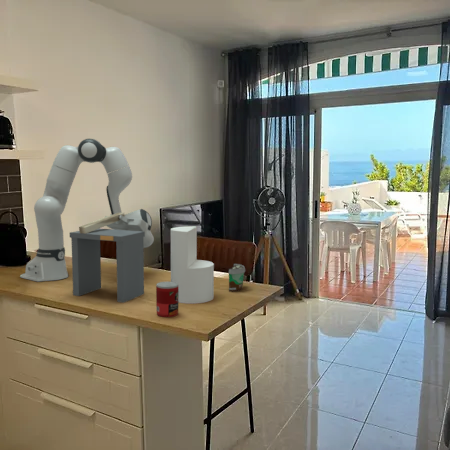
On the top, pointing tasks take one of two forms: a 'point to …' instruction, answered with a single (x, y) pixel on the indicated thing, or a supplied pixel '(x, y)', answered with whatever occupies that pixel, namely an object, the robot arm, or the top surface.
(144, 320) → the top surface
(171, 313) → the canned food
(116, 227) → the robot arm
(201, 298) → the white stepped pillar
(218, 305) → the top surface
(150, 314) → the top surface
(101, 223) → the bar
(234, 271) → the food container
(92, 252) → the grey step stool
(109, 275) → the top surface
